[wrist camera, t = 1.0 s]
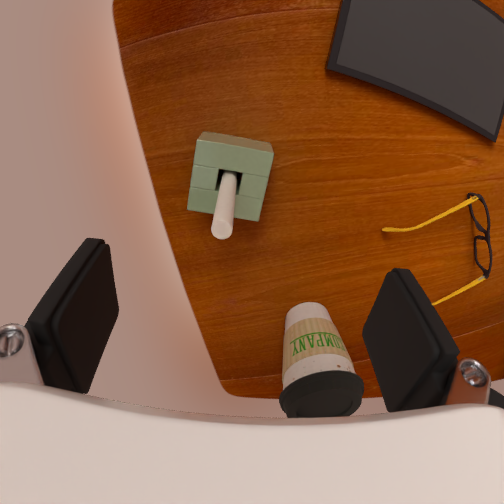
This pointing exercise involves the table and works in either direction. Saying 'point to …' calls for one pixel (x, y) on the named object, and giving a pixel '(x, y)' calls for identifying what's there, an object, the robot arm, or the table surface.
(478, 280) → the eyeglasses
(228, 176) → the stylus
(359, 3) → the tablet
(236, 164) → the stylus holder
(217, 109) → the table surface
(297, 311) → the coffee cup
